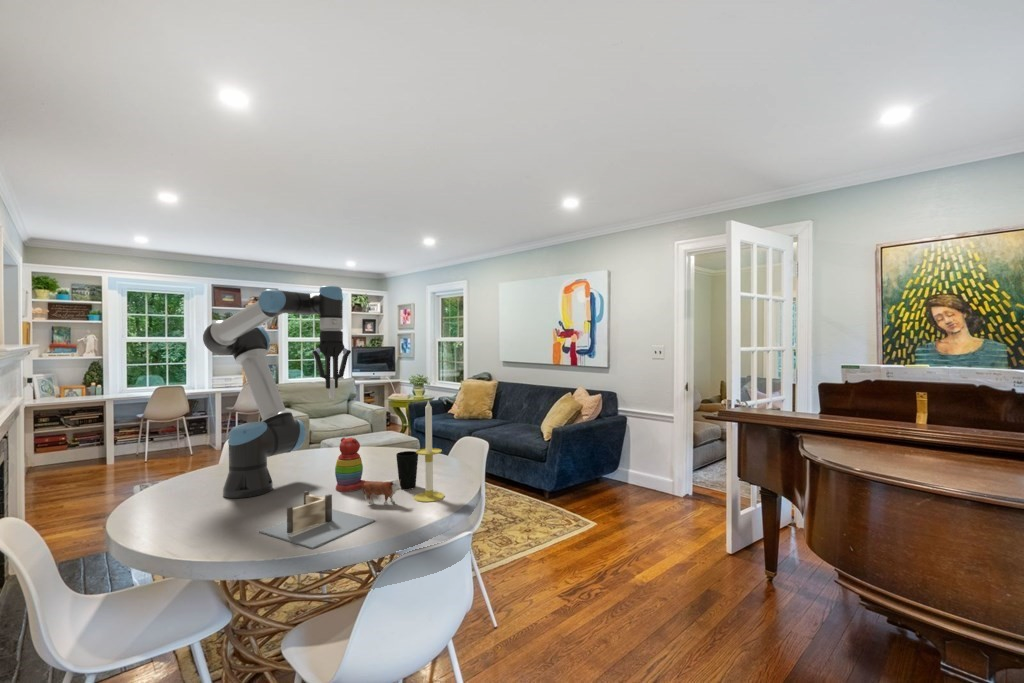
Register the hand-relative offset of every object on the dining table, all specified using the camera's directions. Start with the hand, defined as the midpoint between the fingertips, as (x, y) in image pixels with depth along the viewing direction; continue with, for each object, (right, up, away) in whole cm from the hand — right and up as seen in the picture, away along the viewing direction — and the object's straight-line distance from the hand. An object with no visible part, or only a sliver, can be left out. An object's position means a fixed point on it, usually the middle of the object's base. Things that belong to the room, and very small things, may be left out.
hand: (331, 397), depth 165 cm
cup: (+26, -32, +3) cm, 42 cm away
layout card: (+9, -32, -33) cm, 47 cm away
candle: (+36, -32, -9) cm, 49 cm away
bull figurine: (+22, -32, -15) cm, 42 cm away
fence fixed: (+6, -32, -28) cm, 43 cm away
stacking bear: (+5, -33, +3) cm, 33 cm away
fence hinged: (+7, -31, -36) cm, 48 cm away
